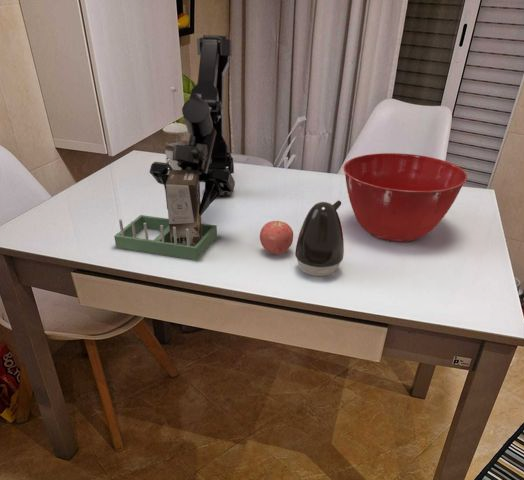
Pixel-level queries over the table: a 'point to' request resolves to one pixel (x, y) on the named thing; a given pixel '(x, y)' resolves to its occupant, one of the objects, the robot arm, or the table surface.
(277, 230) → the apple
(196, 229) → the coffee box
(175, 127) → the french press
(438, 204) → the mixing bowl
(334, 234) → the pump dispenser
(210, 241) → the dish rack
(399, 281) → the table surface
